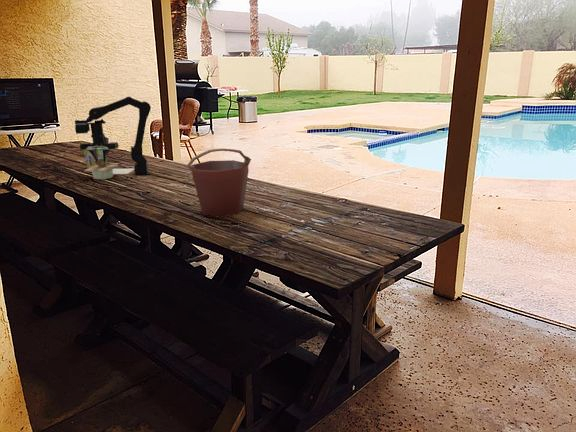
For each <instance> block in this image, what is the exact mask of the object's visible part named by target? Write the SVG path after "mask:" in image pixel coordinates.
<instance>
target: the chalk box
mask: <svg viewBox="0 0 576 432" xmlns="http://www.w3.org/2000/svg"><path fill="white" fill-rule="evenodd" d="M90 143H91V144H92V143H93V142H90ZM103 149H104V148H97V156H98V160H99V159H104V157H103ZM87 150H88V148H87V149H85V150H83V154H84V160H85V168H86V169H87V168H90V167H92V166H94V165H98V164H97V162H96V160H95V159H94V157H93V155H92V154H91V153H90V152H89V151H87ZM106 165H108V158H107V159H106Z"/></svg>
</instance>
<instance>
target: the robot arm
mask: <svg viewBox="0 0 576 432" xmlns="http://www.w3.org/2000/svg"><path fill="white" fill-rule="evenodd" d="M129 105H130V106H132V107H134V108H136V109H138V123H137V130H136V135H135V142H134V145H133V146H132V145H131V146H130V151H129V156H130V157H131V160H132V161H133V162H135V163H134V167H133V168H134V170H133V171H134V175H135V176H148V174H150V171H149V163H148V159H147V158H146V157H145V156H144V155H143V143H144V136H145V132H146V131H145V129H146V123H147V119H148V116H149V114H150V112H151V109H152V107H151V105H150V103H148V102H147V101H144V100H143V101H140V100H138V99H135V98H132V97H131V96H128V95H127V96H126V97H125V98H122V99H121V98H120V99H119V100H116V101H114V102H111V103H108V104H106V105H102V106H97V107H95V106H94V107H92V108H90V109H89V112H88V117H86V119H82V120H78V119H77V120H76V119H75V120H74V125H75V126H74V128H75V134H76V135H80V134H88V133H89V132H90V131H91V135H90V138H92V142H82V143H80V144H79V150H83V151H84V150H85V149H87V148H88V150H87V151H89V152H90V153H91V154H92V155H93V157H94V159H95V160H96V162H97V160H98V156H97V148H104V149H103V157H104V162H106V159H107V160H108V155H109V152H110V151H111V150H116V149H118V148H119V143H118V142H116V141H115V142H114V141H113V142H111V141H110V142H109V137H106V134H105V133H104V127H103V125H105V124H106V123H107V122H106V120H104V119H103V118H102V117H104V116H105V115H106V114H109V113H111V112H113V111H116V110H119V109H121V108H124V107H126V106H129ZM93 121H94V122H93ZM91 143H92V144H91Z"/></svg>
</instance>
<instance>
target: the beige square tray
mask: <svg viewBox="0 0 576 432" xmlns="http://www.w3.org/2000/svg"><path fill="white" fill-rule="evenodd" d="M97 164H98V165H94V166H92V167H90V168H86V169H84V172H92V171H110V170H112V169H117V168H119V164H107V165H106V162H104V159H99V160H97Z"/></svg>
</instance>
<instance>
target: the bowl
mask: <svg viewBox="0 0 576 432" xmlns="http://www.w3.org/2000/svg"><path fill="white" fill-rule="evenodd" d="M91 172H92V178H93V179H94V180H105V179H106V180H107V179H111V178H113V177H114V174H113V169H112V170H110V171H91Z"/></svg>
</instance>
